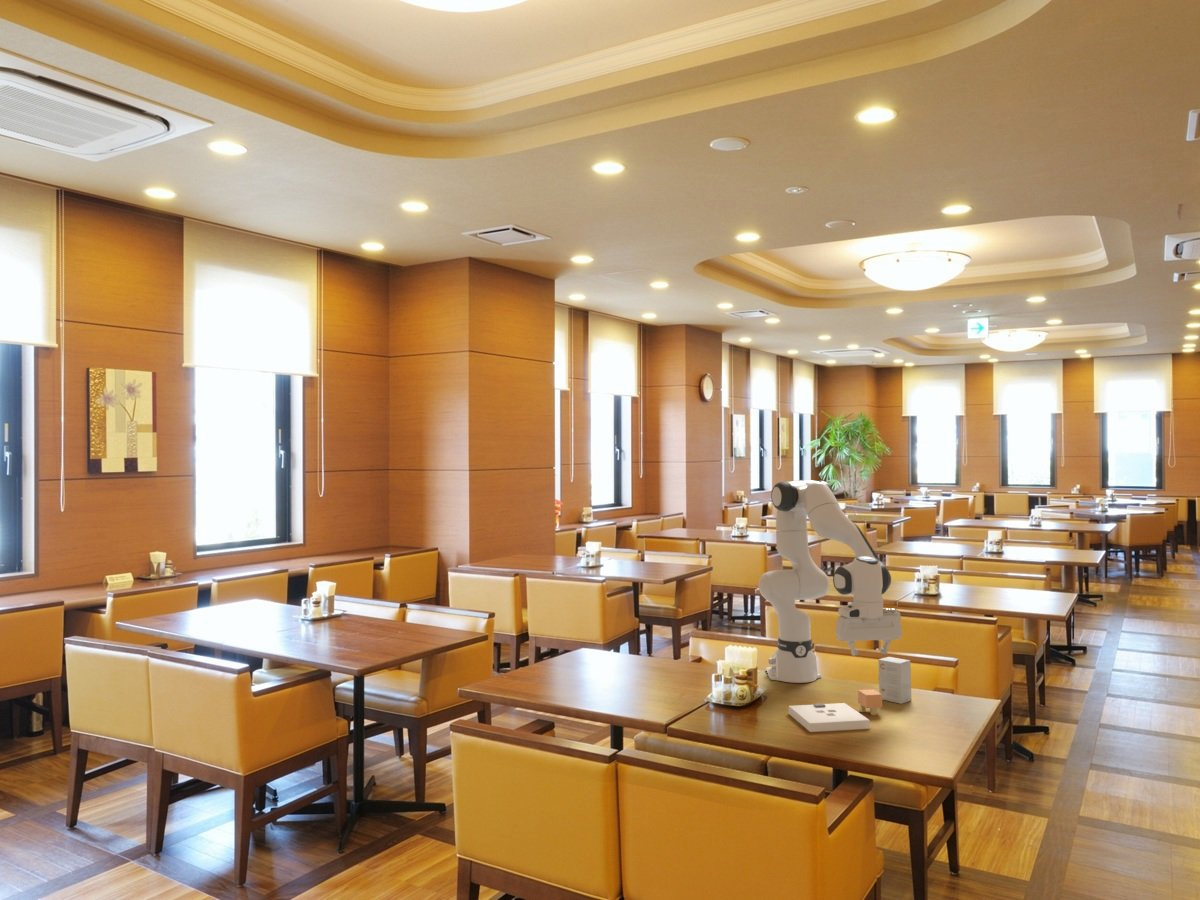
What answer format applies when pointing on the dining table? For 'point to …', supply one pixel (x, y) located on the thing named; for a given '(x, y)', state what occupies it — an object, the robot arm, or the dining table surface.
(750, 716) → the dining table surface
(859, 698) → the plug
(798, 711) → the socket plate
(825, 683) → the dining table surface
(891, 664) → the small box
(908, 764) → the dining table surface
